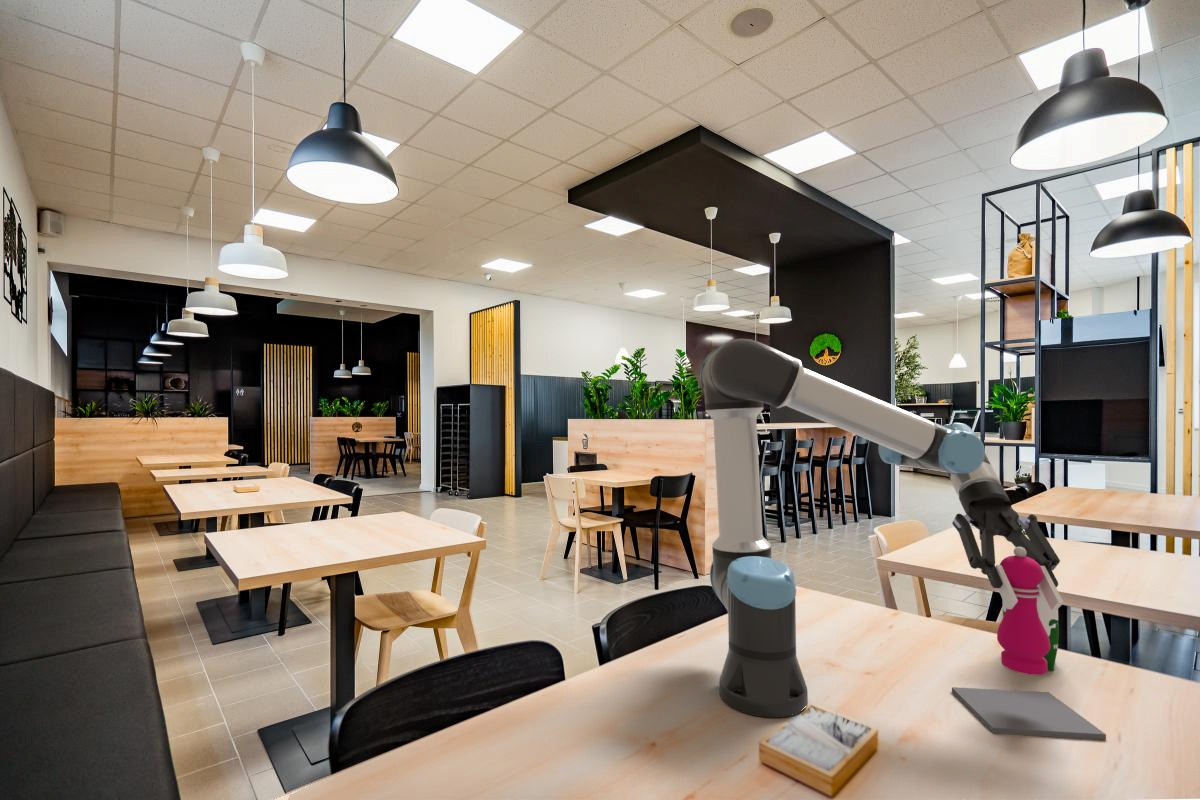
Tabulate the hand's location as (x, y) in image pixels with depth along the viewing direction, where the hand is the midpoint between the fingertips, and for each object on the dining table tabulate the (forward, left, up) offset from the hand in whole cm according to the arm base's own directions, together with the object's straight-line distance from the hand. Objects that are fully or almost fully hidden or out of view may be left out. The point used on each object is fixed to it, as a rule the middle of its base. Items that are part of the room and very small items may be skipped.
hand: (1034, 605), depth 94 cm
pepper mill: (0, +4, -12) cm, 12 cm away
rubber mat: (-1, +4, -19) cm, 19 cm away
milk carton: (+13, +27, -19) cm, 35 cm away
